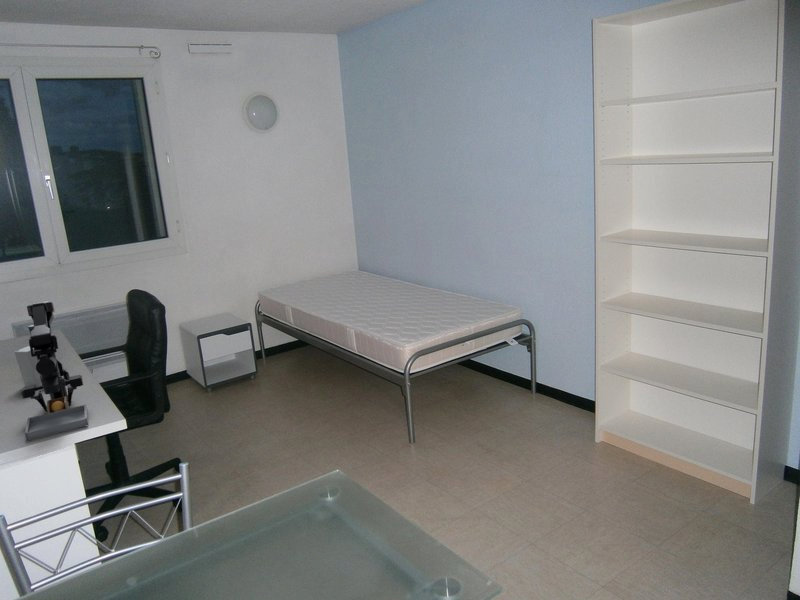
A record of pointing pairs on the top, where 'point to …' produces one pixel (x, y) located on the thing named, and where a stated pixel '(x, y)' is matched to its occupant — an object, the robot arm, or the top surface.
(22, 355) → the skincare box
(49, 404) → the scoop
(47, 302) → the robot arm
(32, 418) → the tray
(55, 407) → the ball
